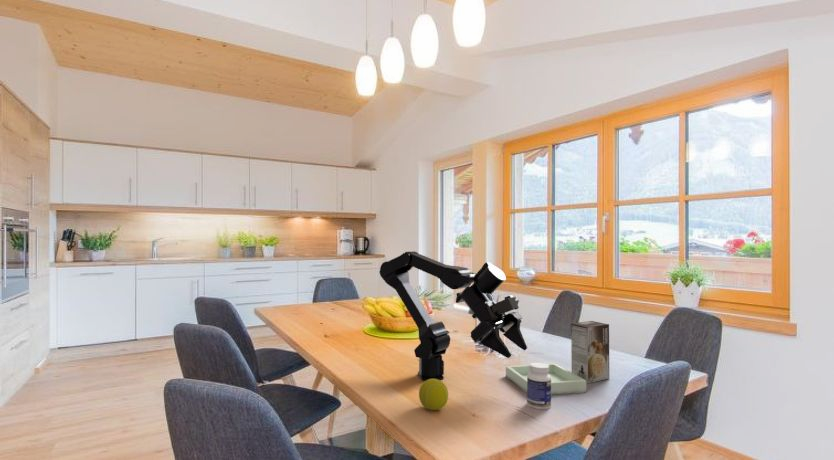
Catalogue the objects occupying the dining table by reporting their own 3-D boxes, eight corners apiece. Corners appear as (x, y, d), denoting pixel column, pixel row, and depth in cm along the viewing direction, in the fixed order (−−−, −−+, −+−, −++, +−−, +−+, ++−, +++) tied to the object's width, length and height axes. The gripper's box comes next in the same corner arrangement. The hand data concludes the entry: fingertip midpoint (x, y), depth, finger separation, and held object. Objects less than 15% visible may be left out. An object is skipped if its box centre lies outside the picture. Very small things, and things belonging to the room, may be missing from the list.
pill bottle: (552, 411, 102) (552, 369, 103) (527, 409, 104) (527, 367, 104) (549, 402, 108) (549, 362, 108) (526, 400, 109) (526, 360, 109)
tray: (531, 396, 112) (531, 384, 112) (505, 376, 128) (505, 366, 128) (586, 392, 115) (586, 380, 115) (554, 373, 131) (554, 363, 131)
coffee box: (592, 372, 132) (592, 320, 132) (610, 379, 126) (610, 324, 126) (570, 377, 127) (570, 322, 128) (588, 383, 122) (588, 327, 122)
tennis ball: (452, 413, 101) (452, 383, 101) (423, 416, 99) (424, 385, 99) (442, 402, 108) (442, 373, 108) (415, 404, 106) (415, 376, 106)
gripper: (481, 288, 106) (523, 340, 99) (515, 282, 120) (554, 327, 113) (454, 317, 111) (492, 368, 104) (490, 308, 125) (525, 352, 118)
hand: (518, 353), depth 109 cm, fingers open, 9 cm apart
